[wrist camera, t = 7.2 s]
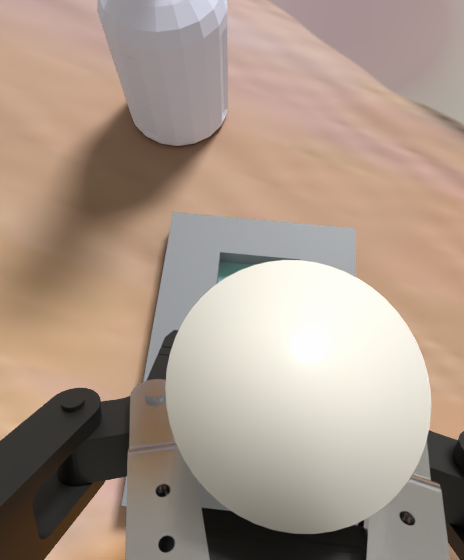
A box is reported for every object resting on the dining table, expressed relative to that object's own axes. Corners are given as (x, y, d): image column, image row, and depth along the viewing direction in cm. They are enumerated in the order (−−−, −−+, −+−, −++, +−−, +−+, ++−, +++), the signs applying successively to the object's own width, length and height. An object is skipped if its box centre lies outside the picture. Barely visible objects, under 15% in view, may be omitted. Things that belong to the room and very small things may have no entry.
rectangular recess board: (348, 524, 24) (358, 533, 22) (129, 499, 25) (121, 505, 23) (347, 240, 31) (354, 228, 29) (176, 224, 32) (173, 212, 30)
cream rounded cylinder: (252, 483, 17) (291, 610, 5) (192, 405, 19) (113, 365, 7) (321, 416, 18) (486, 396, 6) (259, 347, 20) (300, 217, 8)
